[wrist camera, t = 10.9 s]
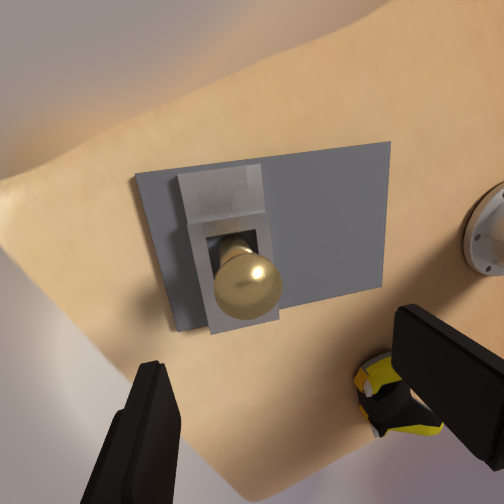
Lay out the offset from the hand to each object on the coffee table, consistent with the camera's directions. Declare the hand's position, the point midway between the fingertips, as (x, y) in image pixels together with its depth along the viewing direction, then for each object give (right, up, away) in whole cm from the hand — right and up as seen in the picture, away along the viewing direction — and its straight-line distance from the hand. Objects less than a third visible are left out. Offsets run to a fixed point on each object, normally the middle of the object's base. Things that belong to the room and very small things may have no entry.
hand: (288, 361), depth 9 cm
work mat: (+1, +6, +16) cm, 17 cm away
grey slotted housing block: (-3, +5, +14) cm, 15 cm away
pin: (-3, +5, +14) cm, 15 cm away
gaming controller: (+18, -15, +26) cm, 35 cm away
